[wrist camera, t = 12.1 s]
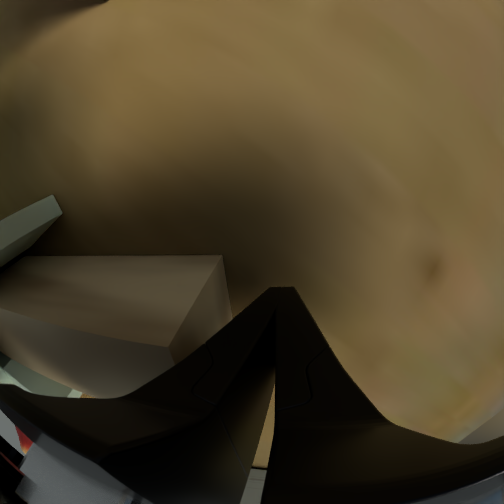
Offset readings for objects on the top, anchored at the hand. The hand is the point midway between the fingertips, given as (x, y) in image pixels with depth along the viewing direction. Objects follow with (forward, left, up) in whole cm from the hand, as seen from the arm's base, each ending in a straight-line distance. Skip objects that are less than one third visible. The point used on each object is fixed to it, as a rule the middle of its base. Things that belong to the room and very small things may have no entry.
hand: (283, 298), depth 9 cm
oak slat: (0, +8, -1) cm, 8 cm away
